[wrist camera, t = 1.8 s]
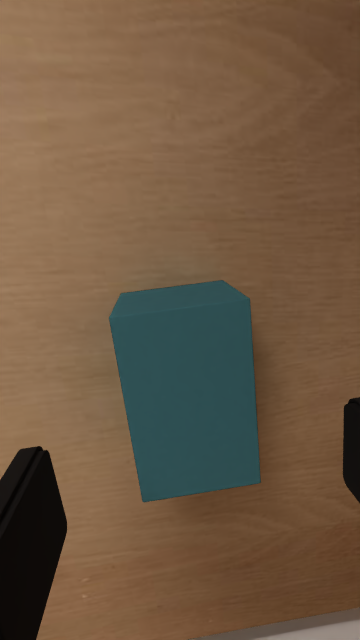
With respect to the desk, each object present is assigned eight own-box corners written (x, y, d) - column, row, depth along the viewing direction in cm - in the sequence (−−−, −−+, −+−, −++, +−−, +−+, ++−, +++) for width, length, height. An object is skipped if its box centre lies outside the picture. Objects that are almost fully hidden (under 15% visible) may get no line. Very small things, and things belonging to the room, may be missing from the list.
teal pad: (120, 293, 16) (108, 317, 11) (223, 279, 16) (250, 298, 11) (144, 436, 18) (142, 503, 13) (234, 422, 18) (261, 483, 14)
